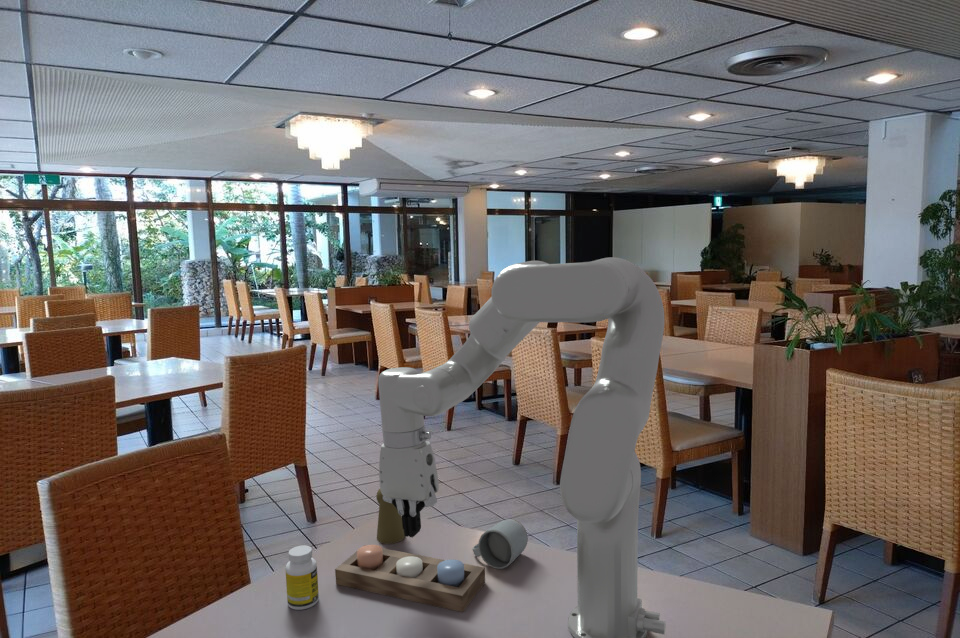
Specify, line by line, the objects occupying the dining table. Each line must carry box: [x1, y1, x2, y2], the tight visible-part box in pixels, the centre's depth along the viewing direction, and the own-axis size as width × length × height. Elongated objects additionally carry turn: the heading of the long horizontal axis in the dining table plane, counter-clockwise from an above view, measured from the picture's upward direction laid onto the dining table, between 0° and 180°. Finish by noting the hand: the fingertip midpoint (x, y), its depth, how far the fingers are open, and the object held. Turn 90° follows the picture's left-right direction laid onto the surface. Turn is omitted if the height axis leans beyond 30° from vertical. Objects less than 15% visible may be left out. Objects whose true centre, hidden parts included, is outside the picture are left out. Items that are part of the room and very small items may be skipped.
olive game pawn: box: [375, 488, 405, 545], centre depth 141 cm, size 6×6×11 cm
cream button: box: [396, 556, 423, 579], centre depth 123 cm, size 5×5×3 cm
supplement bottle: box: [284, 544, 320, 611], centre depth 117 cm, size 5×5×10 cm
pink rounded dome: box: [356, 544, 383, 570], centre depth 126 cm, size 5×5×3 cm
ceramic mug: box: [472, 518, 529, 570], centre depth 131 cm, size 11×8×8 cm
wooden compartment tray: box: [334, 544, 486, 613], centre depth 123 cm, size 26×10×3 cm, turn 67°
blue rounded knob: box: [437, 559, 465, 587], centre depth 119 cm, size 5×5×3 cm
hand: (412, 533), depth 121 cm, fingers closed
